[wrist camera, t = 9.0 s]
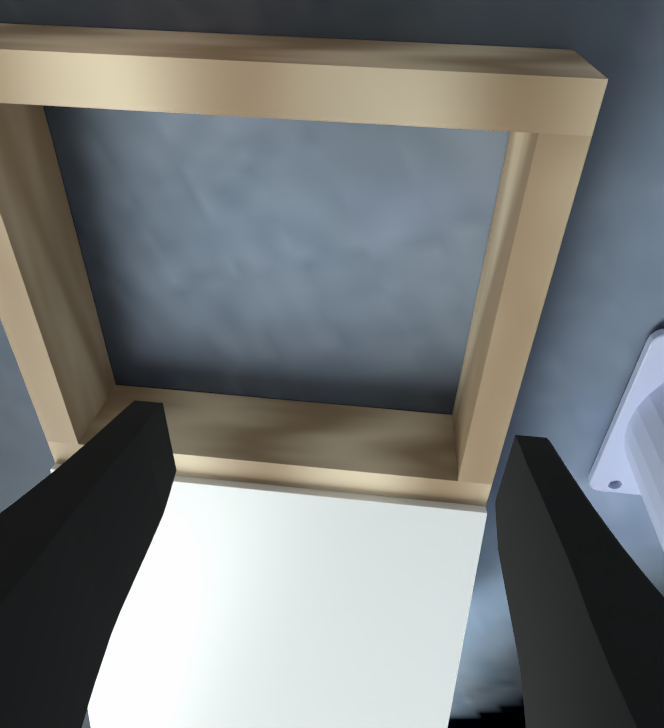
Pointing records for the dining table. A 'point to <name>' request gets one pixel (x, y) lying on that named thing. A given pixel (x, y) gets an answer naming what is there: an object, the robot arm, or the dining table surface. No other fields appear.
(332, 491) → the cold frame
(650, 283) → the dining table surface
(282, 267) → the dining table surface
